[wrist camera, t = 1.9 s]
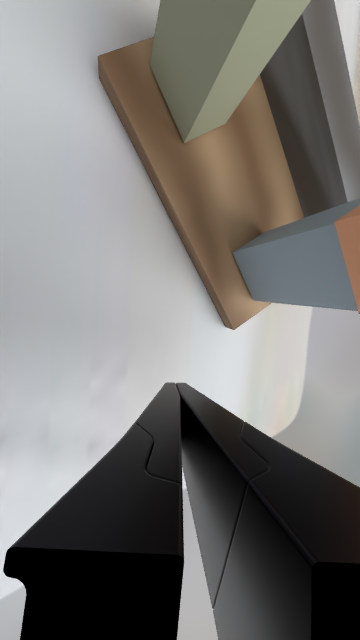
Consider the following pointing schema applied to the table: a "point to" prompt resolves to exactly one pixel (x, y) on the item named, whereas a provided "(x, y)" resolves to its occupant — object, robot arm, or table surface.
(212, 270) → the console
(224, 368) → the table surface
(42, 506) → the table surface
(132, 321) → the table surface
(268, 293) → the orange-capped grey pillar
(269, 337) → the table surface
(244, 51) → the tall green block
